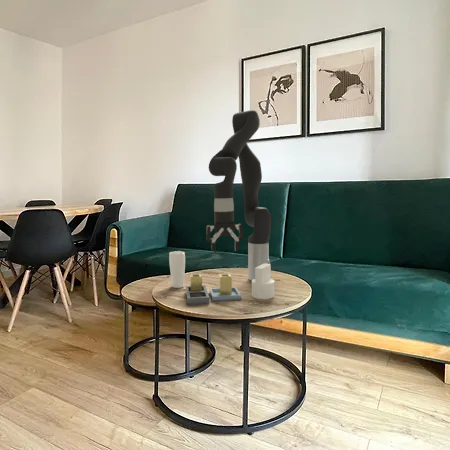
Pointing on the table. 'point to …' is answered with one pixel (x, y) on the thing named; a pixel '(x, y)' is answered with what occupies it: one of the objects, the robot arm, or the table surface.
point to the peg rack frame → (197, 296)
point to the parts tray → (216, 297)
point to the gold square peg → (225, 284)
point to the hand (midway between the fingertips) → (225, 251)
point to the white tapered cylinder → (177, 268)
